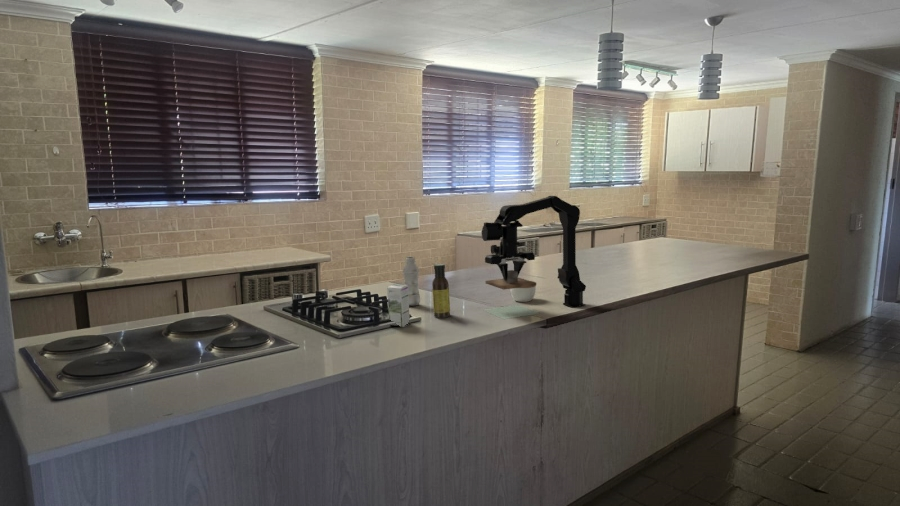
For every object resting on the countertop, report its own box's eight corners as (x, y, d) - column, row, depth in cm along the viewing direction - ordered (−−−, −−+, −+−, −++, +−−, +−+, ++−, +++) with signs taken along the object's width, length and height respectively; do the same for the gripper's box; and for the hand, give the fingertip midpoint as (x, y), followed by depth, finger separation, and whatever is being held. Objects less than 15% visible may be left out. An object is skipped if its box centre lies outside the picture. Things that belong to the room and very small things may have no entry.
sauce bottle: (453, 316, 217) (451, 264, 214) (439, 319, 214) (437, 266, 211) (444, 313, 222) (442, 262, 220) (430, 316, 219) (428, 264, 216)
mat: (518, 305, 231) (518, 304, 231) (540, 314, 216) (540, 313, 216) (482, 311, 224) (482, 310, 224) (503, 320, 210) (503, 319, 210)
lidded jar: (535, 298, 243) (535, 276, 242) (536, 304, 233) (536, 281, 231) (510, 298, 244) (509, 276, 243) (510, 304, 234) (509, 281, 232)
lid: (516, 279, 228) (516, 267, 227) (536, 285, 215) (536, 272, 214) (485, 283, 222) (485, 270, 221) (503, 289, 209) (503, 276, 209)
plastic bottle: (418, 307, 234) (416, 258, 231) (402, 307, 235) (400, 258, 232) (422, 303, 240) (420, 256, 237) (406, 303, 241) (404, 256, 239)
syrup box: (410, 323, 209) (408, 284, 207) (402, 327, 204) (400, 287, 202) (396, 322, 212) (395, 283, 210) (388, 326, 207) (386, 286, 204)
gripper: (519, 235, 227) (520, 274, 229) (477, 239, 220) (478, 279, 222) (535, 238, 217) (535, 278, 219) (491, 242, 210) (492, 284, 212)
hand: (510, 280), depth 218 cm, fingers closed on lid, 4 cm apart
